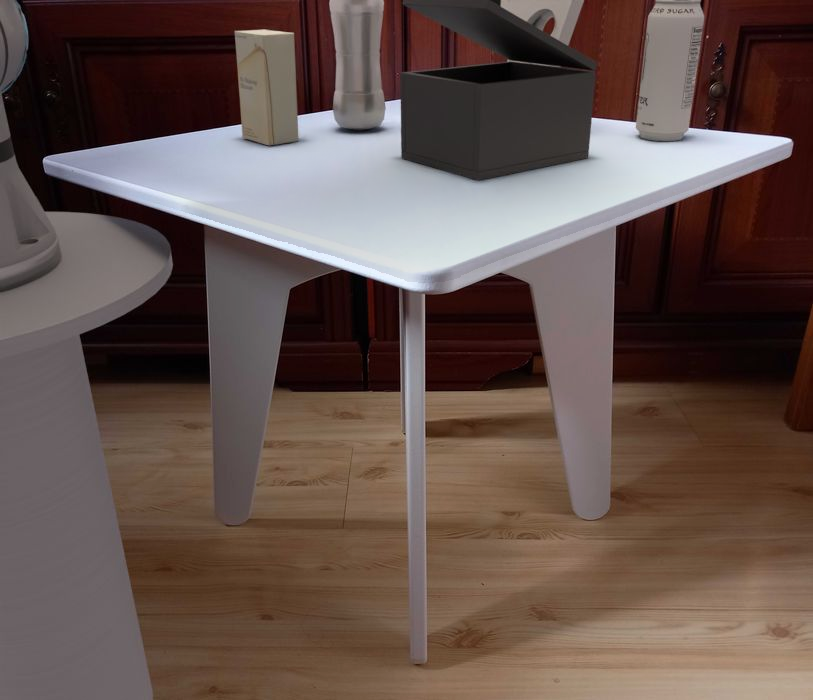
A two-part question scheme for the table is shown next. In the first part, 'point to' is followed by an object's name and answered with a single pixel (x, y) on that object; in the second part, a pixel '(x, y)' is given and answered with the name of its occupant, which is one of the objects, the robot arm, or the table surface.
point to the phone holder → (547, 15)
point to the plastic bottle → (358, 63)
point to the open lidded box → (496, 117)
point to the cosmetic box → (267, 86)
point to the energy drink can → (669, 69)
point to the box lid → (501, 32)
